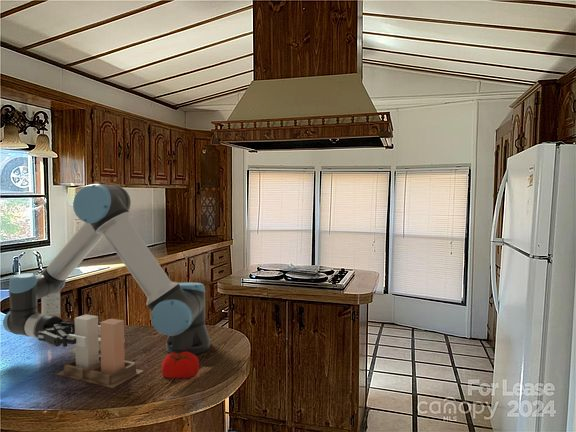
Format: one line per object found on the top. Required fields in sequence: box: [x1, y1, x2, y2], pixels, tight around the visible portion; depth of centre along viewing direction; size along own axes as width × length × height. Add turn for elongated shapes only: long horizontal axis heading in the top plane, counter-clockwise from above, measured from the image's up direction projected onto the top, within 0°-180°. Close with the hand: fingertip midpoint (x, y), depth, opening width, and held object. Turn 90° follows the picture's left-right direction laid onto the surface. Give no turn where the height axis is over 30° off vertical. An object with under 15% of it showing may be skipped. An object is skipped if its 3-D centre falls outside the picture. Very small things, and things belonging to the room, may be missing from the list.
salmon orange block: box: [99, 318, 126, 374], centre depth 122 cm, size 4×5×16 cm
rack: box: [55, 354, 144, 389], centre depth 124 cm, size 22×12×4 cm, turn 67°
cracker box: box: [40, 290, 62, 319], centre depth 167 cm, size 14×6×21 cm, turn 34°
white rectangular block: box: [74, 313, 100, 368], centre depth 125 cm, size 4×5×16 cm
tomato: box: [161, 351, 200, 380], centre depth 125 cm, size 10×11×6 cm
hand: (98, 337), depth 123 cm, fingers open, 8 cm apart
